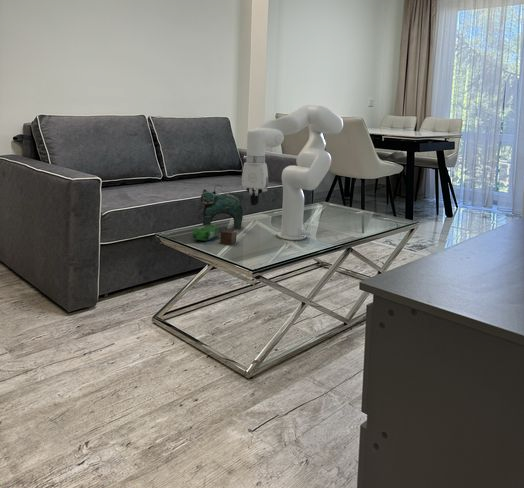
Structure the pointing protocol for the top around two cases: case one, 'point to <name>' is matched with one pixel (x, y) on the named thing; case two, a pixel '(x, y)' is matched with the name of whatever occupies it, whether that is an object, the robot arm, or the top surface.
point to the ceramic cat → (221, 206)
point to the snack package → (205, 232)
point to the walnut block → (228, 236)
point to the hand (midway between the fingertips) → (254, 204)
